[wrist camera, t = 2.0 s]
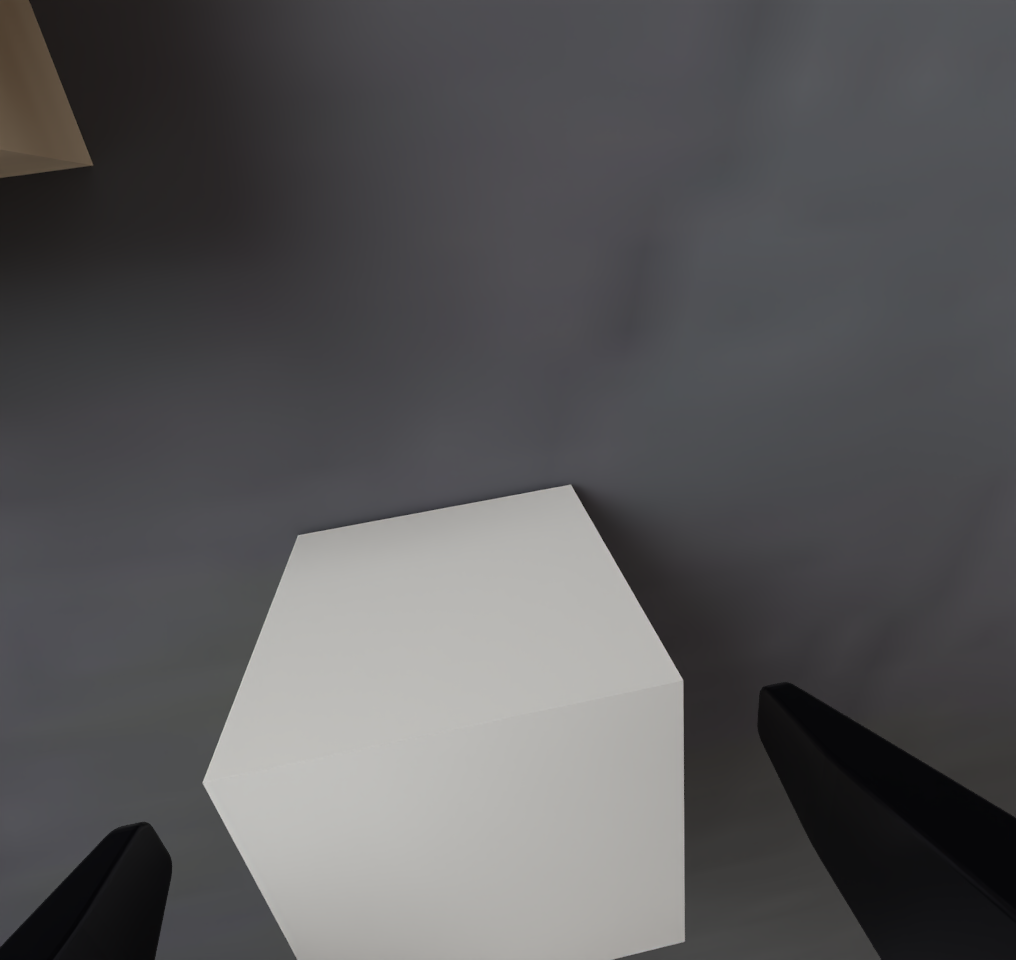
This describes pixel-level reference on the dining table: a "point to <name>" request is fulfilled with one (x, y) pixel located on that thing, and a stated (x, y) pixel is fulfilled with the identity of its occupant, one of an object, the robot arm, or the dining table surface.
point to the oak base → (33, 101)
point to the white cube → (460, 744)
